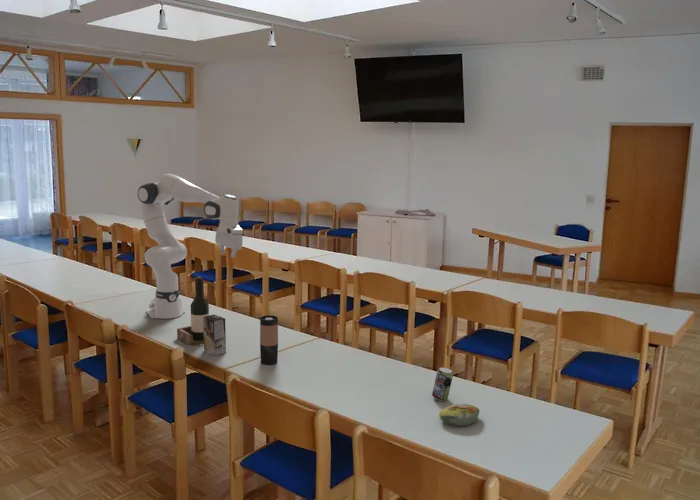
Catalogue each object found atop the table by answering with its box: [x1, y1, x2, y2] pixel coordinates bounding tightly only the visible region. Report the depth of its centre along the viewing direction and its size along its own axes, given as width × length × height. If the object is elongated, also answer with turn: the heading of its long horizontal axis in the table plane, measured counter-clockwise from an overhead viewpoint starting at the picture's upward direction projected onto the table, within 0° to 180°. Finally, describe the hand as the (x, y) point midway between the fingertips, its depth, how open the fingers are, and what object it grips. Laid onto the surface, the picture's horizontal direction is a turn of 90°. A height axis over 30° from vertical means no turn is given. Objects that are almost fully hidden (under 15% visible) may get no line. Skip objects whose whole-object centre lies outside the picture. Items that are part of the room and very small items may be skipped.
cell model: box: [438, 403, 480, 426], centre depth 214 cm, size 11×8×15 cm
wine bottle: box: [190, 276, 210, 341], centre depth 291 cm, size 8×8×30 cm
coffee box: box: [203, 314, 227, 356], centre depth 277 cm, size 9×6×16 cm
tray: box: [176, 325, 204, 347], centre depth 294 cm, size 14×14×5 cm
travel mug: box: [259, 315, 279, 366], centre depth 265 cm, size 8×8×20 cm
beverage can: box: [431, 366, 454, 402], centre depth 231 cm, size 6×7×12 cm
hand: (227, 255), depth 305 cm, fingers open, 8 cm apart
